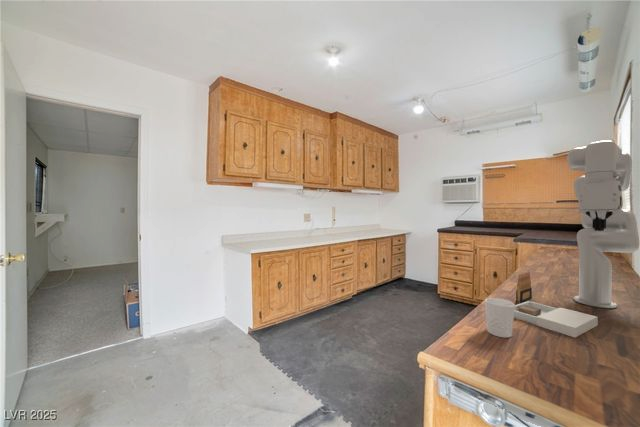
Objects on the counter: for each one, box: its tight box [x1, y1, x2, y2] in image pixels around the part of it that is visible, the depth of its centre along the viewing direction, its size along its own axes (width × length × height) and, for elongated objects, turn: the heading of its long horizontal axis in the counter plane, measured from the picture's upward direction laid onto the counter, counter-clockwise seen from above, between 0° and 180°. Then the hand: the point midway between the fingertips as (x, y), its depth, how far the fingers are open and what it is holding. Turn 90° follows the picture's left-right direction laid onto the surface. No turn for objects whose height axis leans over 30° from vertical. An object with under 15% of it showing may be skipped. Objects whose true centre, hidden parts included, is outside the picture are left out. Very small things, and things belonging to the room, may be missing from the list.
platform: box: [536, 307, 599, 338], centre depth 91 cm, size 18×10×3 cm, turn 119°
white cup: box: [484, 297, 516, 338], centre depth 86 cm, size 8×8×10 cm
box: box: [514, 300, 559, 326], centre depth 100 cm, size 17×10×2 cm, turn 119°
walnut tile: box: [519, 305, 541, 316], centre depth 101 cm, size 5×5×2 cm
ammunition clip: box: [515, 271, 533, 304], centre depth 117 cm, size 11×2×12 cm, turn 122°
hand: (599, 230), depth 94 cm, fingers closed
